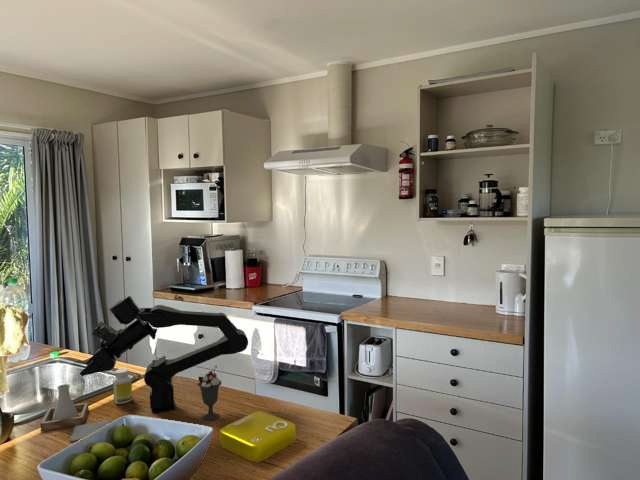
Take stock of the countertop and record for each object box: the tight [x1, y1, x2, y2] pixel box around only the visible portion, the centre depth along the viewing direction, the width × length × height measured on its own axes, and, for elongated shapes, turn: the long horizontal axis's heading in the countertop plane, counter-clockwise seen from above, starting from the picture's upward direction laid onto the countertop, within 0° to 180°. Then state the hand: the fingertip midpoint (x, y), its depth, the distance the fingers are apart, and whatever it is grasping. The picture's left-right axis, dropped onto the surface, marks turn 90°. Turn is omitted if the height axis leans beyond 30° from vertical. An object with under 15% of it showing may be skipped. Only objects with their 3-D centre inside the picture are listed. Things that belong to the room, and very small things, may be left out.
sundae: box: [197, 365, 222, 422], centre depth 137 cm, size 7×7×15 cm
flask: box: [51, 383, 80, 421], centre depth 138 cm, size 7×7×10 cm
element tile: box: [219, 410, 297, 463], centre depth 123 cm, size 15×15×5 cm
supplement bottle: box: [112, 368, 133, 405], centre depth 150 cm, size 5×5×10 cm
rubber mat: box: [69, 420, 111, 443], centre depth 130 cm, size 9×9×1 cm
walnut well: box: [40, 402, 89, 431], centre depth 138 cm, size 11×11×2 cm
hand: (84, 369), depth 138 cm, fingers open, 9 cm apart
